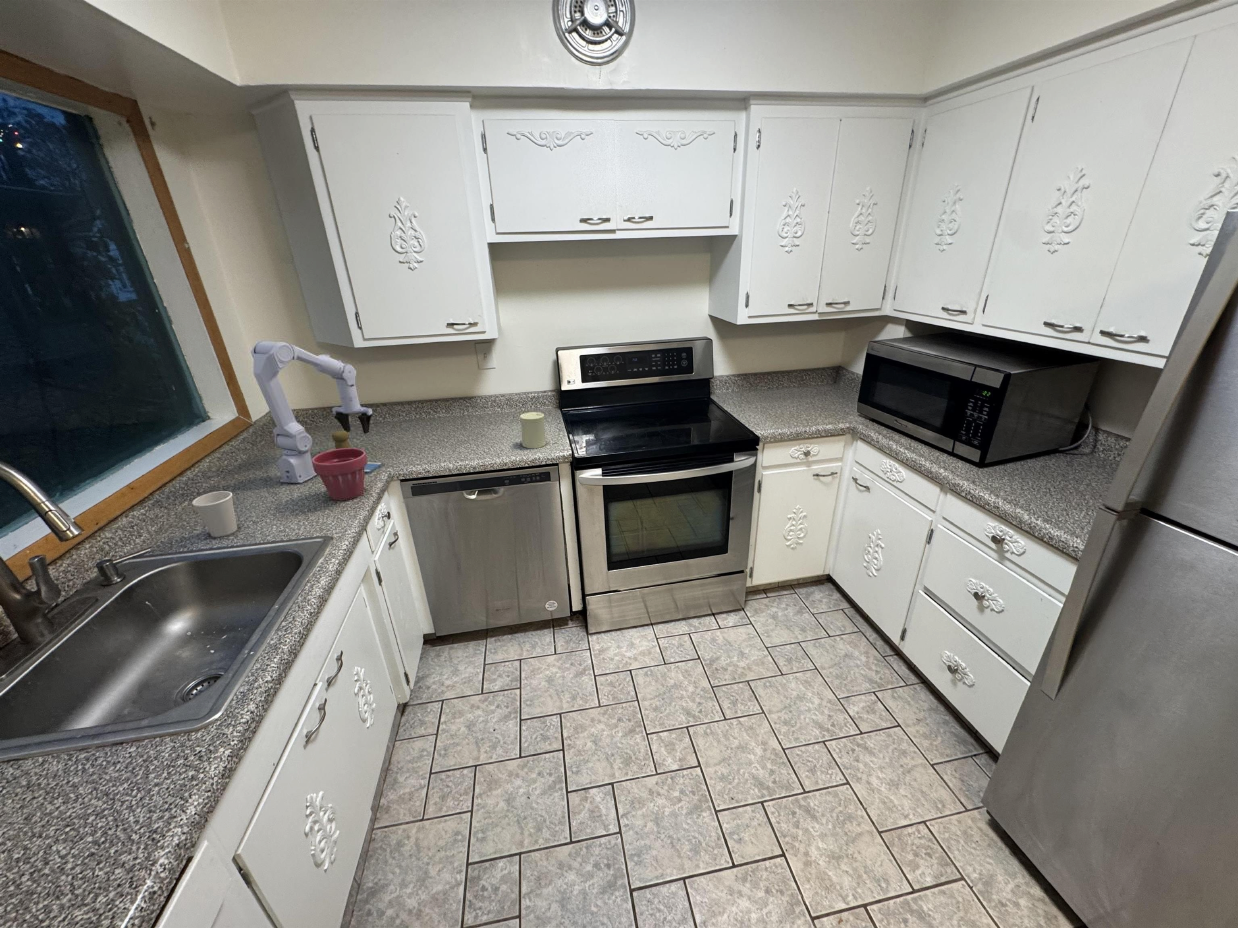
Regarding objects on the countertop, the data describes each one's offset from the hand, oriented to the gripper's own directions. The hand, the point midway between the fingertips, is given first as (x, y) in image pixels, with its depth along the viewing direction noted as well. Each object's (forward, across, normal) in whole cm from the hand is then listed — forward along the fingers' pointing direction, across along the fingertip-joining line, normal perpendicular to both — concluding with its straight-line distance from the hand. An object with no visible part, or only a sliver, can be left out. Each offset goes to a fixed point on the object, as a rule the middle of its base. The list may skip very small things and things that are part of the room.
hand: (357, 432), depth 186 cm
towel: (+7, -11, +15) cm, 20 cm away
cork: (+8, 0, +9) cm, 12 cm away
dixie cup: (+7, -1, +60) cm, 61 cm away
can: (+8, -62, -17) cm, 65 cm away
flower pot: (+7, -19, +34) cm, 40 cm away
